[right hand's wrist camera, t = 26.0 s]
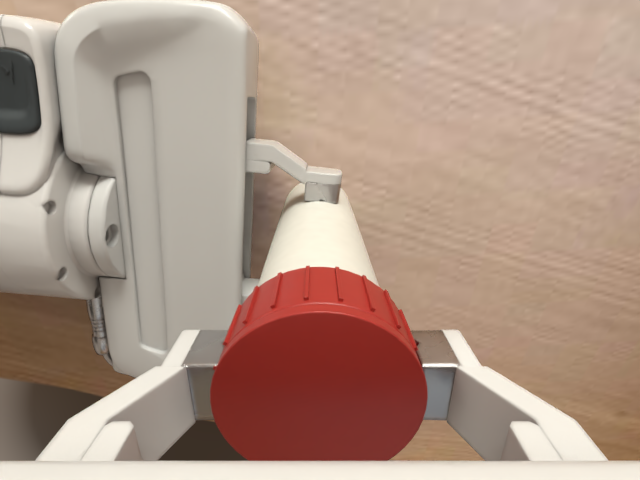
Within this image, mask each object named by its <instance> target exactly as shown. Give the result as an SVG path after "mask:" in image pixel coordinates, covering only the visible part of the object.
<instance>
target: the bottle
mask: <svg viewBox="0 0 640 480" xmlns="http://www.w3.org/2000/svg"><path fill="white" fill-rule="evenodd" d="M304 193H305V184H303V183H299V184H298V185H296V186H295V187H294V188H293V189H292V190H291V191H290V193H289V194H288V196H287V198H286V201H285V204H284V207H283V210H282V213H281V216H280V219H279V222H278V225H277V228H276V231H275V234H274V237H273V240H272V244H271V247H270V250H269V253H268V256H267V259H266V262H265V265H264V268H263V271H262V274H261V277H260V280H259V283H258V287H259V286H260V285H262V284H263V283H265V282H266V281H268V280H270V279H272V278H273V277H275V276H277V275H278V273H280V272H282V274H283V273H285V272H288V271H291V270H295V269H299V268H306V266H310V267H331V268H335V266H336V267H339V269H342V270H347V271H350V272H353V273H355V274H358V275H360V276H362V275H365V276H366V277H367V279H368V280H370V281H371V282H373V283H374V284H376V285H377V286H379V285H378V282H377V279H376V276H375V273H374V271H373V268H372V265H371V262H370V259H369V256H368V253H367V250H366V248H365V245H364V242H363V239H362V236H361V233H360V230H359V228H358V225H357V222H356V219H355V216H354V213H353V210H352V207H351V205H350V202H349V199H348V197H347V195H346V193H345V192H344V191H343V190H342V188H340V195H339V202H338V203H328V202H324V201H323V200H322V199H321V200H320V201H314V202H313V201H304Z"/></svg>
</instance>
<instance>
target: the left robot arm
mask: <svg viewBox="0 0 640 480" xmlns="http://www.w3.org/2000/svg"><path fill="white" fill-rule="evenodd" d="M258 59H259V41H258V38H257V36H256V34H255V33H254V31H253V30H252V29H251V27H250V26H249V25H248V23H247V22H246V21H245V20H244V19H243V17H242V16H240V15H239V14H238V13H237V12H236V11H235V10H234V9H232V8H230V7H229V6H226V5H224V4H221V3H216V2H209V1H202V0H109V1H101V2H95V3H91V4H88V5H85V6H82V7H80V8H78V9H76V10H75V11H73V12H72V13H71V14H69V15H68V16H67V17H66V18H65V20H64V21H63V22H62V24H60V23H56V22H52V21H48V20H42V19H37V18H31V17H24V16H15V15H3V14H0V292H5V293H16V294H27V295H38V296H50V297H61V298H72V299H84V300H86V305H87V311H88V315H89V319H90V321H91V325H92V329H93V334H92V343H93V347H94V349H95V351H96V353H97V354H98V355H103V357H104V358H105V360H106V361H107V362H108V363H109V364H110V365H111V366H112V367H113V369H114V370H115V371H116V372H118V373H121V374H126V375H129V376H132V377H134V378H137V377H139V376H140V375H142V374H144V373H145V372H147V371H149V370H150V369H152V368H154V367H155V366H161V365H162V363H163V362H164V360H165V358H166V357H167V355H168V353H169V352H170V350H171V348H172V347H173V345H174V344H175V342H176V340H177V339H178V337H179V335H180V334H181V332H182V331H184V330H228V329H229V326H230V324H231V322H232V319H233V317H234V314H235V312H236V309H237V307H238V305H239V304H240V305H242V304H243V303H244V301H245V300H246V299H247V297H248V296H249V295H250V294H251V293H252V292H253V290H254V287H255V286H258V283H259V280H260V279H255V278H250V277H251V250H252V223H253V196H254V173H261V174H268V173H269V172H270V171H271V170H272V168H273V167H274V166H275V165H276V166H278V167H279V168H281V169H282V170H284V171H285V172H287V173H288V174H289V175H291V176H292V177H294V178H295V179H297V180H298V181H300V182H301V183H303V184H305V193H304V201H313V202H314V201H320V200H321V199H322V200H323V201H324V202H328V203H338V202H339V195H340V188H341V180H342V172H341V170H338V169H334V168H324V167H315V166H307V163H306V162H305V161H304V160H302V159H301V158H300V157H298V156H297V155H296V154H294V153H293V152H291V151H290V150H289V149H287V148H286V147H285V146H283V145H282V144H281V143H279V142H278V141H274V140H265V139H256V114H257V86H258Z"/></svg>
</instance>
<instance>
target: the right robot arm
mask: <svg viewBox="0 0 640 480" xmlns="http://www.w3.org/2000/svg"><path fill="white" fill-rule="evenodd" d="M227 331H228V330H184V331H182V332H181V334H180V335H179V337H178V339H177V340H176V342H175V344H174V345H173V347H172V348H171V350H170V352H169V353H168V355H167V357H166V358H165V360H164V362H163V363H162V365H161V366H155V367H154V368H152V369H150V370H149V371H147V372H145V373H144V374H142V375H140V376H139V377H137V378H135V379H134V380H132V381H131V382H129V383H127V384H126V385H124V386H122V387H121V388H119V389H117V390H116V391H114V392H112V393H111V394H109V395H108V396H106V397H104V398H103V399H101V400H99V401H98V402H96V403H94V404H93V405H91V406H89V407H88V408H86V409H84V410H83V411H81V412H80V413H78V414H76V415H75V416H73V417H71V418H70V419H68V420H67V421H66V423H65V424H64V425H63V426H62V428H61V429H60V430H59V431H58V433H57V434H56V435H55V436H54V438H53V439H52V440H51V441H50V443H49V444H48V445H47V446H46V448H45V449H44V450H43V451H42V452H41V454H40V455H39V456H38V458H37V459H36V460H35V461H0V480H640V461H608V459H607V458H606V457H605V456H604V454H603V453H602V452H601V451H600V450H599V448H598V447H597V446H596V445H595V443H594V442H593V441H592V440H591V438H590V437H589V436H588V435H587V433H586V432H585V431H584V430H583V428H582V427H581V426H580V425H579V424H578V422H577V421H576V420H575V419H573V418H571V417H570V416H568V415H566V414H565V413H563V412H562V411H560V410H558V409H557V408H555V407H553V406H552V405H550V404H548V403H547V402H545V401H543V400H542V399H540V398H538V397H537V396H535V395H533V394H532V393H530V392H529V391H527V390H525V389H524V388H522V387H520V386H519V385H517V384H515V383H514V382H512V381H510V380H509V379H507V378H505V377H504V376H502V375H500V374H499V373H497V372H496V371H494V370H492V369H491V368H489V367H487V366H481V364H480V363H479V361H478V359H477V358H476V356H475V355H474V353H473V351H472V350H471V348H470V347H469V345H468V343H467V342H466V340H465V339H464V337H463V336H462V334H461V332H460V331H459V330H457V329H455V330H434V331H411V333H412V336H413V338H414V340H415V343H416V345H417V348H418V351H416V354H417V356H418V359H419V361H420V364H421V366H422V369H423V371H424V374H425V378H426V382H427V391H428V399H427V407H426V411H425V415H424V418H423V420H447V423H448V424H449V425H450V426H451V427H452V428H453V429H454V430H455V431H456V432H457V433H458V434H459V435H460V436H461V437H462V438H463V439H464V440H465V441H466V442H467V443H468V444H469V445H470V446H471V447H472V448H473V449H474V450H475V451H476V452H477V453H478V454H479V455H480V456H481V457H482V458H483V459H484V460H485V461H157V460H158V459H159V458H160V457H161V456H162V455H163V454H164V453H165V452H166V451H167V450H168V449H169V448H170V447H171V446H172V445H173V444H174V443H175V442H176V441H177V440H178V439H179V438H180V437H181V436H182V435H183V434H184V433H185V432H186V431H187V430H188V429H189V428H190V427H191V426H192V425H193V424H194V423H195V420H214V417H213V414H212V410H211V404H210V387H211V382H212V377H213V374H214V372H215V370H213V367H214V366H217V364H218V361H219V359H220V356H221V353H222V351H223V348H224V345H223V342H224V340H225V337H226V334H227Z"/></svg>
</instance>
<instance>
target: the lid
mask: <svg viewBox="0 0 640 480" xmlns="http://www.w3.org/2000/svg"><path fill="white" fill-rule="evenodd" d="M223 345H224V348H223V351H222V353H221V356H220V359H219V361H218V364H217V366H214V367H213V370H215V372H214V374H213V377H212V382H211V387H210V404H211V410H212V414H213V417H214V420H215V423H216V425H217V427H218V429H219V431H220V432H221V434H222V435H223V437H224V438H225V440H226V441H227V442H228V443H229V444H230V445H231V446H232V448H234V450H235V451H237V452H238V453H239V454H240V455H242V456H243V457H244V458H246V459H247V460H249V461H388V460H389V459H391V458H392V457H394V456H395V455H396V454H397V453H399V452H400V451H401V450H402V449H403V448H404V447H405V446H406V445H407V444H408V443H409V442H410V441H411V439H412V438H413V437H414V435H415V434H416V432H417V431H418V429H419V427H420V425H421V423H422V421H423V418H424V415H425V411H426V407H427V399H428V391H427V382H426V378H425V374H424V371H423V369H422V366H421V364H420V361H419V359H418V356H417V354H416V351H418V348H417V345H416V343H415V340H414V338H413V336H412V333H411V331H410V328H409V326H408V324H407V321H406V319H405V317H404V314H403V312H402V310H398V308H397V307H396V305H395V303H394V302H393V301H392V299H391V298H390V296H389V293H388V291H387V290H385V291H383V290H382V289H381V288H380V287H379V286H377V285H376V284H374V283H373V282H371V281H370V280H368V279H367V277H366V276H365V275H362V276H360V275H358V274H355V273H353V272H350V271H347V270H342V269H339V267H336V266H335V268H331V267H310V266H306V268H299V269H295V270H291V271H288V272H285V273H283V274H282V272H280V273H278V275H277V276H275V277H273V278H272V279H270V280H268V281H266V282H265V283H263V284H262V285H260V286H259V287H258V286H255V287H254V290H253V292H252V293H251V294H250V295H249V296H248V297H247V299H246V300H245V301H244V303H243V304H242V305H240V304H239V305H238V307H237V309H236V312H235V314H234V317H233V319H232V322H231V324H230V326H229V329H228V331H227V334H226V337H225V340H224V342H223Z"/></svg>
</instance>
